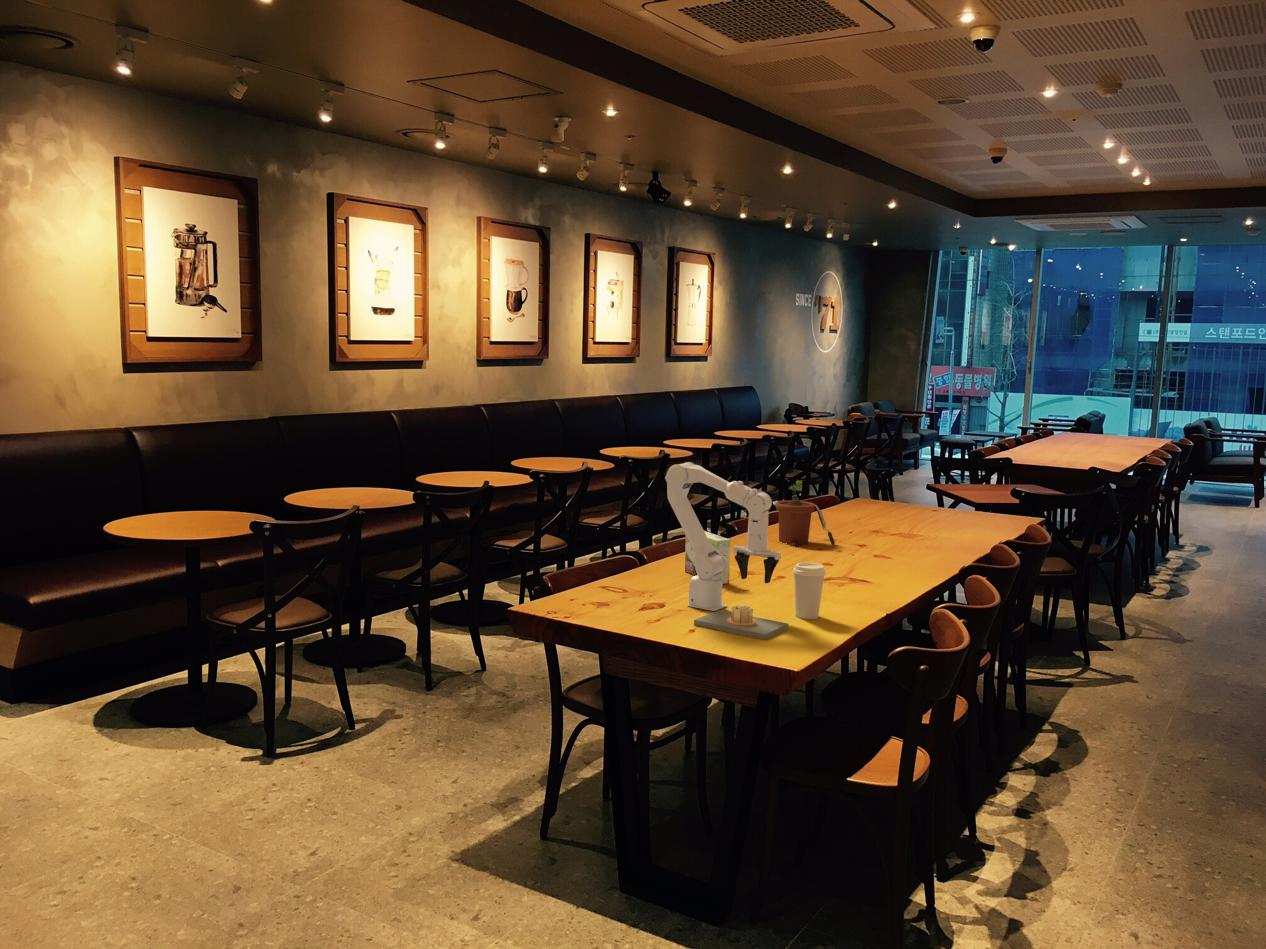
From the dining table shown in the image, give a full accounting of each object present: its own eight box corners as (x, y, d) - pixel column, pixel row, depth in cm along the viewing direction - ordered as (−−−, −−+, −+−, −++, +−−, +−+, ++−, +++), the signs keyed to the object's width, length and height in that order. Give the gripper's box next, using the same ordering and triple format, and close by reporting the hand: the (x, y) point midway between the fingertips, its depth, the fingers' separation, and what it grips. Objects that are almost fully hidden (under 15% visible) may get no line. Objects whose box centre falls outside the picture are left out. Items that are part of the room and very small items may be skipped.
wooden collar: (727, 621, 278) (728, 608, 278) (737, 617, 283) (738, 604, 283) (745, 624, 275) (746, 611, 275) (755, 620, 280) (755, 607, 279)
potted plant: (790, 536, 419) (793, 477, 416) (835, 544, 405) (839, 483, 402) (765, 542, 406) (768, 480, 403) (811, 550, 392) (814, 486, 389)
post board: (693, 625, 280) (694, 603, 279) (719, 615, 291) (720, 594, 291) (764, 639, 267) (765, 617, 267) (788, 628, 279) (789, 607, 278)
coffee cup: (819, 612, 298) (822, 562, 296) (826, 620, 288) (829, 569, 286) (787, 611, 297) (790, 561, 296) (793, 620, 288) (796, 568, 286)
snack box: (683, 572, 347) (684, 528, 345) (697, 570, 350) (698, 528, 348) (715, 585, 328) (717, 540, 326) (730, 584, 331) (732, 539, 329)
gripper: (728, 533, 292) (727, 579, 293) (773, 539, 283) (771, 586, 285) (740, 529, 297) (739, 575, 299) (785, 536, 289) (783, 582, 291)
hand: (755, 580), depth 293 cm, fingers open, 7 cm apart
